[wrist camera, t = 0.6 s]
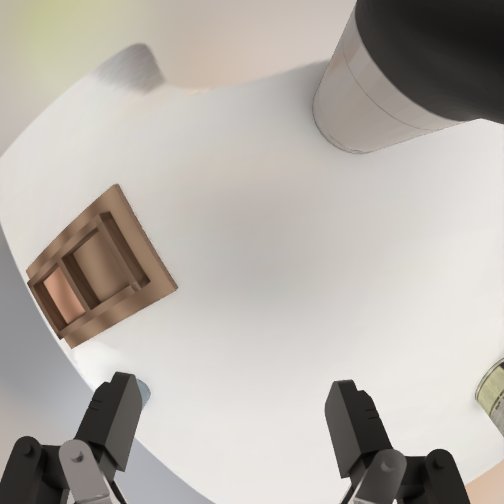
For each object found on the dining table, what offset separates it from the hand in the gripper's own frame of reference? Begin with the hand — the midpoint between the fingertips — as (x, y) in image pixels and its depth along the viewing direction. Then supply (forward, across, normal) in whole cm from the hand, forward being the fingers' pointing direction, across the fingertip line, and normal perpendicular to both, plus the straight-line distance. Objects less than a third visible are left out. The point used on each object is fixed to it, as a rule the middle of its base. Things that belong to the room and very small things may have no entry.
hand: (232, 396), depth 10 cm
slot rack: (+22, +20, +7) cm, 31 cm away
